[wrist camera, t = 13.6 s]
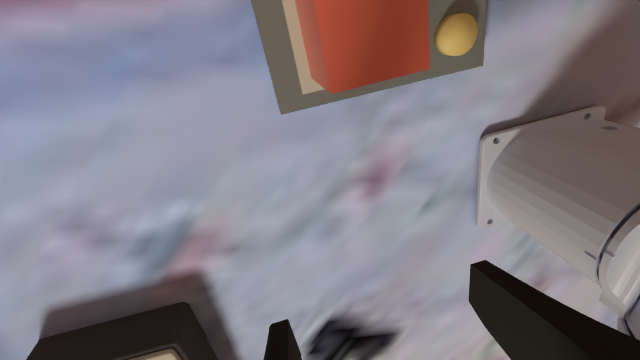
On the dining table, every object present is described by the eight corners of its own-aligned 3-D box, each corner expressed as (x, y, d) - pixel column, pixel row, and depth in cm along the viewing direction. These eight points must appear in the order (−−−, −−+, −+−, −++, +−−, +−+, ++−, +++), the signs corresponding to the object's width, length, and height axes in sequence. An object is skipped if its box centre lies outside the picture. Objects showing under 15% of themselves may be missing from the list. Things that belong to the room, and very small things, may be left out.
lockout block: (383, 60, 16) (430, 69, 12) (311, 78, 16) (331, 93, 11) (374, -28, 14) (425, -58, 10) (292, -10, 14) (307, -32, 9)
